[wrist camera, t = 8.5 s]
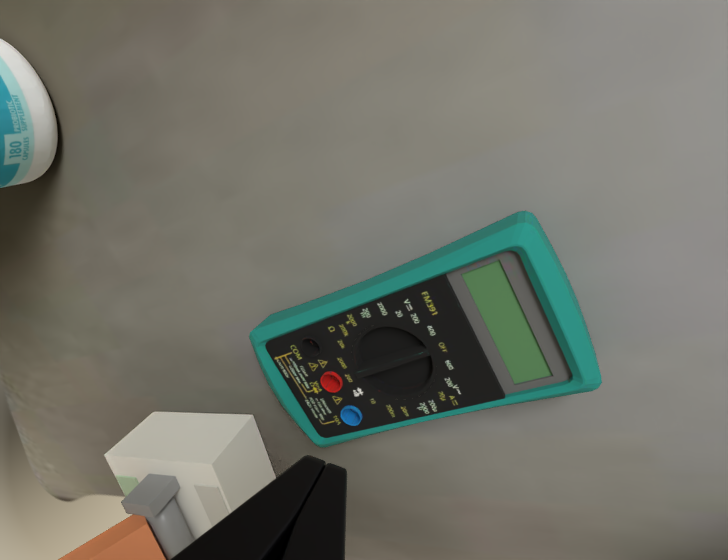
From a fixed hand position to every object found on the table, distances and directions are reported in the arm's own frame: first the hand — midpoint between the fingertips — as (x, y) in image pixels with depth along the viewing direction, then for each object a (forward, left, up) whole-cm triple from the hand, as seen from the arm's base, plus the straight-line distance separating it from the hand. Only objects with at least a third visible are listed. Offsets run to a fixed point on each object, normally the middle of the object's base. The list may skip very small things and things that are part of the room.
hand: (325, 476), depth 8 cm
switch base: (+9, +19, -12) cm, 24 cm away
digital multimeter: (0, +4, -13) cm, 13 cm away
